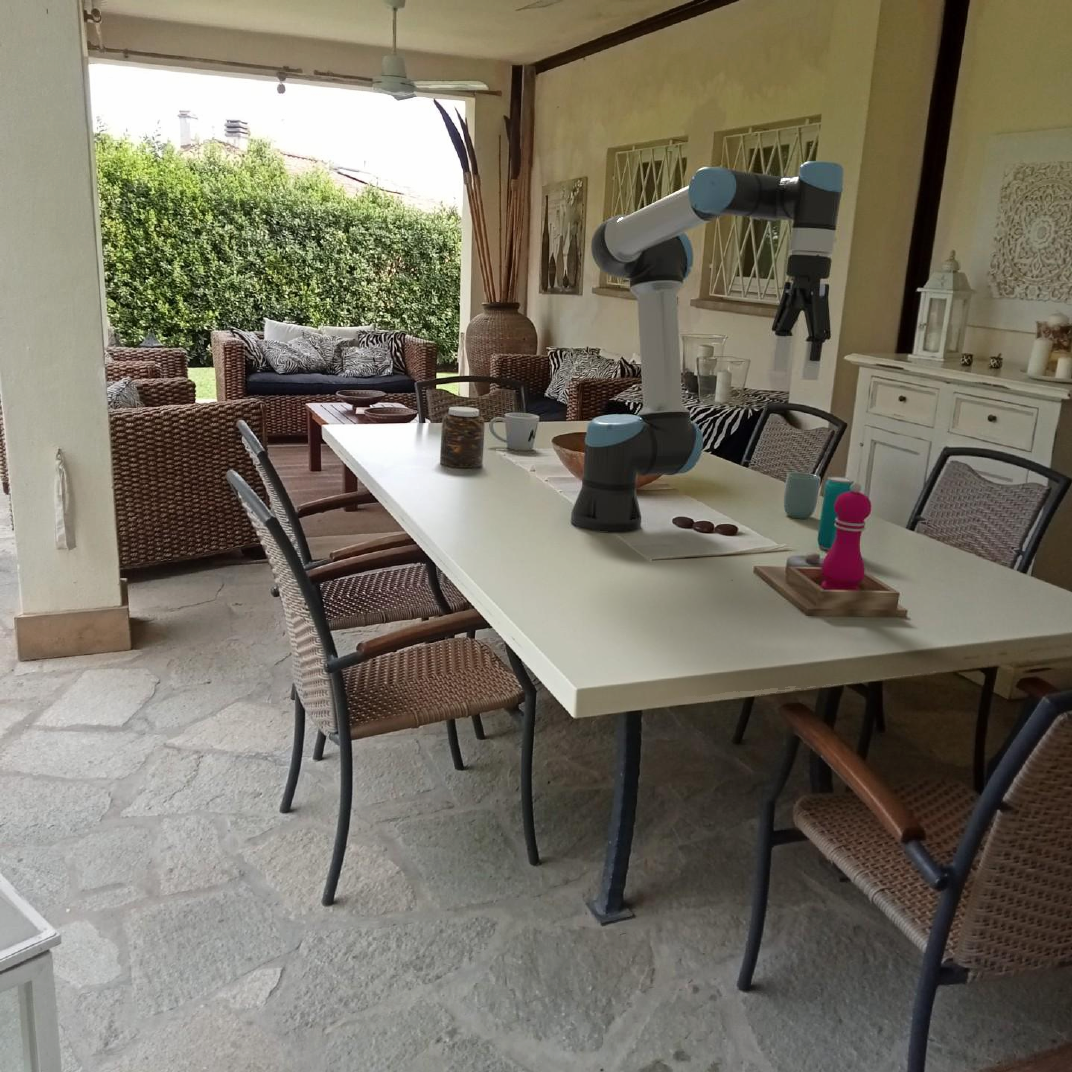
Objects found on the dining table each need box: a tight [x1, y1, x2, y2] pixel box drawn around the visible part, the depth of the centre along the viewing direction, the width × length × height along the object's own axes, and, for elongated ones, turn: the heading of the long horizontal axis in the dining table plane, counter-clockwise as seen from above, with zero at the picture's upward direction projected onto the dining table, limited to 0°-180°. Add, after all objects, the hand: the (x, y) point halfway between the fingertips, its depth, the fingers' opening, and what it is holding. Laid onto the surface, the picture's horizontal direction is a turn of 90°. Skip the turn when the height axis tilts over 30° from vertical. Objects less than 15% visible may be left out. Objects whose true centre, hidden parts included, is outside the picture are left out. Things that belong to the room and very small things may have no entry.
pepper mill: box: [821, 482, 872, 590], centre depth 170 cm, size 7×7×20 cm
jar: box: [439, 406, 485, 469], centre depth 267 cm, size 12×12×15 cm
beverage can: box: [816, 475, 855, 552], centre depth 207 cm, size 6×6×15 cm
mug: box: [488, 412, 540, 451], centre depth 298 cm, size 10×15×10 cm
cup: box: [783, 471, 822, 520], centre depth 235 cm, size 8×8×10 cm
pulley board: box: [753, 552, 908, 618], centre depth 177 cm, size 18×24×5 cm
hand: (793, 375), depth 182 cm, fingers open, 13 cm apart
